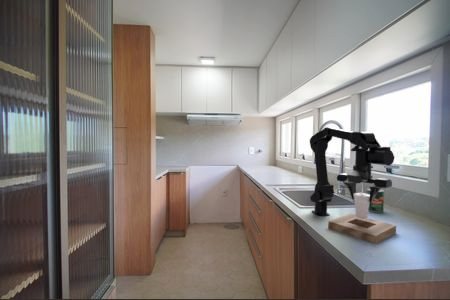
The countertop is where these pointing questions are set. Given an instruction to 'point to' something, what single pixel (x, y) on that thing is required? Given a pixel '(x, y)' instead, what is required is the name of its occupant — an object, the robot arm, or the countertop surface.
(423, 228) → the countertop surface
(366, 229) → the hole board
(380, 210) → the canned tomato
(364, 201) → the smoothie
